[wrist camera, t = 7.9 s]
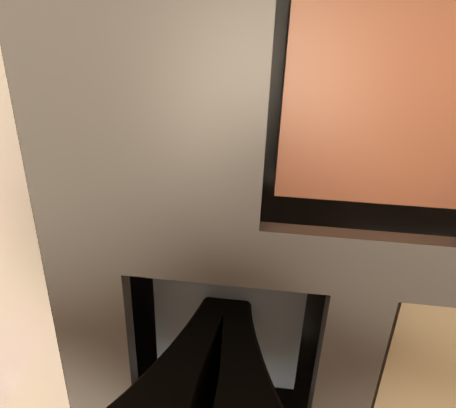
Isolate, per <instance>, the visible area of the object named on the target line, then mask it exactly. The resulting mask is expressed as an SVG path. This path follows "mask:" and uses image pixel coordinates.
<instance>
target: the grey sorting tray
mask: <svg viewBox="0 0 456 408" xmlns="http://www.w3.org/2000/svg"><path fill="white" fill-rule="evenodd" d="M289 2H290V0H0V46H1V51H2V56H3V61H4V66H5V72H6V77H7V82H8V87H9V92H10V98H11V103H12V108H13V113H14V118H15V124H16V129H17V134H18V139H19V144H20V150H21V155H22V160H23V165H24V170H25V176H26V181H27V186H28V191H29V196H30V202H31V207H32V212H33V217H34V222H35V228H36V233H37V238H38V243H39V248H40V254H41V259H42V264H43V269H44V274H45V280H46V285H47V290H48V295H49V300H50V306H51V311H52V316H53V321H54V326H55V332H56V337H57V342H58V347H59V352H60V358H61V363H62V368H63V373H64V378H65V384H66V389H67V394H68V399H69V404H70V408H106V407H107V406H108V405H110V404H111V403H112V402H113V401H114V400H116V399H117V398H118V397H119V396H120V395H121V394H122V393H124V392H125V391H126V390H127V389H128V388H129V387H130V386H131V385H132V384H133V383H134V382H135V381H137V380H138V379H139V378H140V377H141V376H142V375H143V374H144V373H145V372H146V371H147V370H148V369H149V368H150V367H151V365H152V364H153V363H154V362H155V361H156V360H157V344H156V326H155V308H154V290H153V278H154V279H165V280H175V281H185V282H195V283H206V284H216V285H226V286H236V287H247V288H257V289H267V290H277V291H288V292H298V293H307V300H306V307H305V314H304V321H303V328H302V335H301V342H300V349H299V356H298V363H297V370H296V377H295V384H294V389H286V388H277V387H275V390H276V392H277V394H278V396H279V399H280V401H281V403H282V405H283V407H284V408H371V405H372V401H373V398H374V394H375V390H376V386H377V382H378V379H379V375H380V371H381V367H382V363H383V360H384V356H385V352H386V348H387V344H388V341H389V337H390V333H391V329H392V326H393V322H394V318H395V314H396V310H397V307H398V303H399V302H400V303H411V304H421V305H431V306H442V307H452V308H456V209H446V208H433V207H419V206H405V205H392V204H378V203H364V202H351V201H337V200H323V199H310V198H296V197H282V196H274V173H275V161H276V150H277V138H278V126H279V115H280V103H281V92H282V80H283V69H284V57H285V45H286V34H287V22H288V11H289Z"/></svg>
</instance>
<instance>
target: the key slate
mask: <svg viewBox="0 0 456 408" xmlns="http://www.w3.org/2000/svg"><path fill="white" fill-rule="evenodd" d="M153 290H154V308H155V326H156V344H157V359H158V358H159V357H160V356H161V354H162V353H163V352H164V351H165V350H166V349H167V348H168V347H169V346H170V344H171V343H172V342H173V341H174V339H175V338H176V337H177V336H178V334H179V333H180V332H181V331H182V329H183V328H184V327H185V326H186V324H187V323H188V322H189V320H190V319H191V318H192V316H193V315H194V313H195V312H196V310H197V309H198V307H199V306H200V304H201V303H202V301H203V299H205V298H206V297H213V298H223V299H233V300H244V301H249V303H250V304H251V310H252V319H253V324H254V328H255V333H256V337H257V340H258V343H259V347H260V350H261V353H262V356H263V359H264V362H265V365H266V367H267V370H268V372H269V375H270V377H271V380H272V382H273V385H274V387H277V388H286V389H294V384H295V377H296V370H297V363H298V356H299V349H300V342H301V335H302V328H303V321H304V314H305V307H306V300H307V293H298V292H288V291H277V290H267V289H257V288H247V287H236V286H226V285H216V284H206V283H195V282H185V281H175V280H165V279H154V278H153Z"/></svg>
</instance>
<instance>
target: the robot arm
mask: <svg viewBox="0 0 456 408" xmlns="http://www.w3.org/2000/svg"><path fill="white" fill-rule="evenodd" d="M106 408H284V407H283V405H282V403H281V401H280V399H279V396H278V394H277V392H276V390H275V387H274V385H273V382H272V380H271V377H270V375H269V372H268V370H267V367H266V365H265V362H264V359H263V356H262V353H261V350H260V347H259V343H258V340H257V337H256V333H255V328H254V324H253V319H252V310H251V304H250V303H249V301H244V300H233V299H223V298H213V297H206V298H205V299H203V301H202V303H201V304H200V306H199V307H198V309H197V310H196V312H195V313H194V315H193V316H192V318H191V319H190V320H189V322H188V323H187V324H186V326H185V327H184V328H183V329H182V331H181V332H180V333H179V334H178V336H177V337H176V338H175V339H174V341H173V342H172V343H171V344H170V346H169V347H168V348H167V349H166V350H165V351H164V352H163V353H162V354H161V356H160V357H159V358H158V359H157V360H156V361H155V362H154V363H153V364H152V365H151V367H150V368H149V369H148V370H147V371H146V372H145V373H144V374H143V375H142V376H141V377H140V378H139V379H138V380H137V381H135V382H134V383H133V384H132V385H131V386H130V387H129V388H128V389H127V390H126V391H125V392H124V393H122V394H121V395H120V396H119V397H118V398H117V399H116V400H114V401H113V402H112V403H111V404H110V405H108V406H107V407H106Z"/></svg>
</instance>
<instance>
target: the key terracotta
mask: <svg viewBox="0 0 456 408" xmlns="http://www.w3.org/2000/svg"><path fill="white" fill-rule="evenodd" d="M274 196H282V197H296V198H310V199H323V200H337V201H351V202H364V203H378V204H392V205H405V206H419V207H433V208H446V209H456V0H290V2H289V11H288V22H287V34H286V45H285V57H284V69H283V80H282V92H281V103H280V115H279V126H278V138H277V150H276V161H275V173H274Z"/></svg>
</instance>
